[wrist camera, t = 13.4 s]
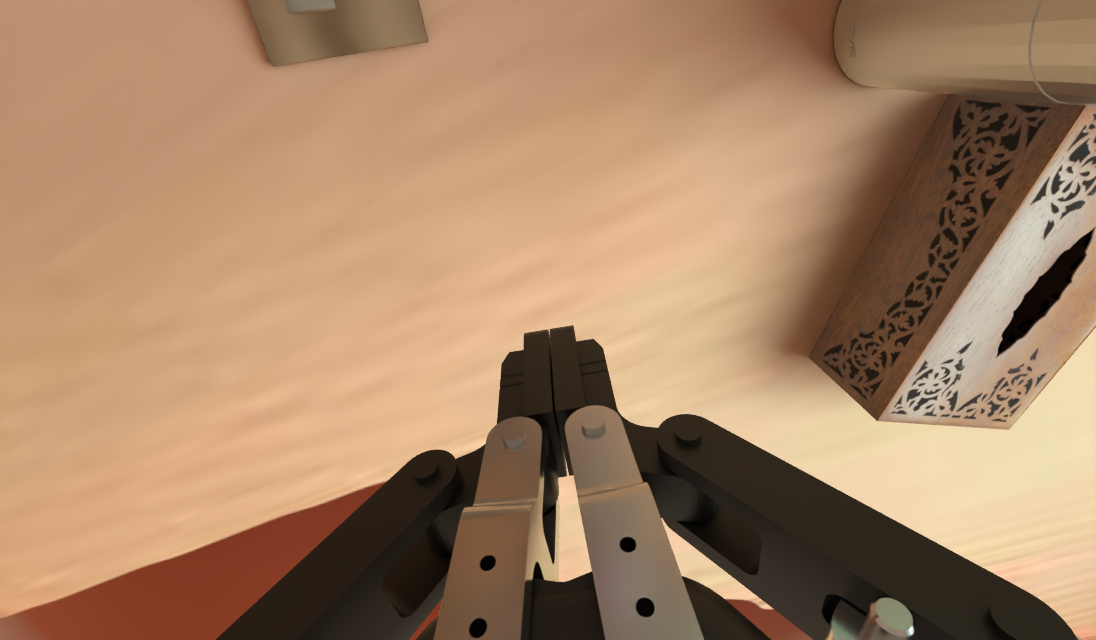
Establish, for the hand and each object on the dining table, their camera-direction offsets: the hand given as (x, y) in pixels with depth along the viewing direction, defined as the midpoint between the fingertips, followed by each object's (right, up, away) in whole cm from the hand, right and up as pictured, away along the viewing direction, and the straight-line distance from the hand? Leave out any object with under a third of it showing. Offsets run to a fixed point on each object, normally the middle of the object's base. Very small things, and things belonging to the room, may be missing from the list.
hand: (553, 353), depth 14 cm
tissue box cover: (+36, +8, +30) cm, 48 cm away
